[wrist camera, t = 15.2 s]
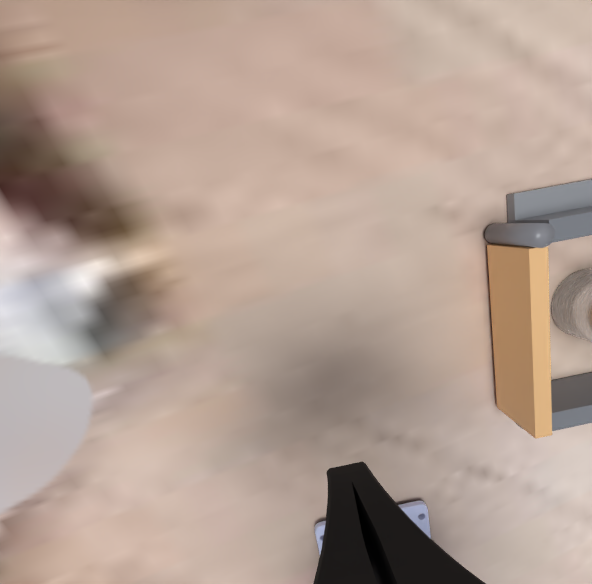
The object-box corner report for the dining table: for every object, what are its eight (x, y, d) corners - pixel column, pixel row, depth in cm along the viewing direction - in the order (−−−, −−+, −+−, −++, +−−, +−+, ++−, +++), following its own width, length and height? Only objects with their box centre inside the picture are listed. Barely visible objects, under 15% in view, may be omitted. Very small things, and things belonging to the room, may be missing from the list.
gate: (484, 225, 20) (530, 225, 16) (503, 221, 20) (554, 221, 16) (495, 407, 22) (538, 442, 19) (512, 403, 22) (558, 437, 19)
